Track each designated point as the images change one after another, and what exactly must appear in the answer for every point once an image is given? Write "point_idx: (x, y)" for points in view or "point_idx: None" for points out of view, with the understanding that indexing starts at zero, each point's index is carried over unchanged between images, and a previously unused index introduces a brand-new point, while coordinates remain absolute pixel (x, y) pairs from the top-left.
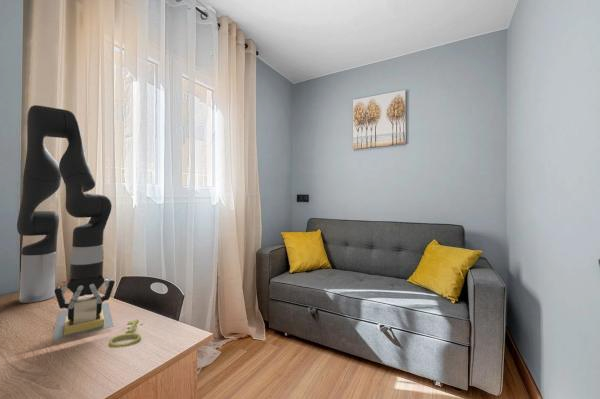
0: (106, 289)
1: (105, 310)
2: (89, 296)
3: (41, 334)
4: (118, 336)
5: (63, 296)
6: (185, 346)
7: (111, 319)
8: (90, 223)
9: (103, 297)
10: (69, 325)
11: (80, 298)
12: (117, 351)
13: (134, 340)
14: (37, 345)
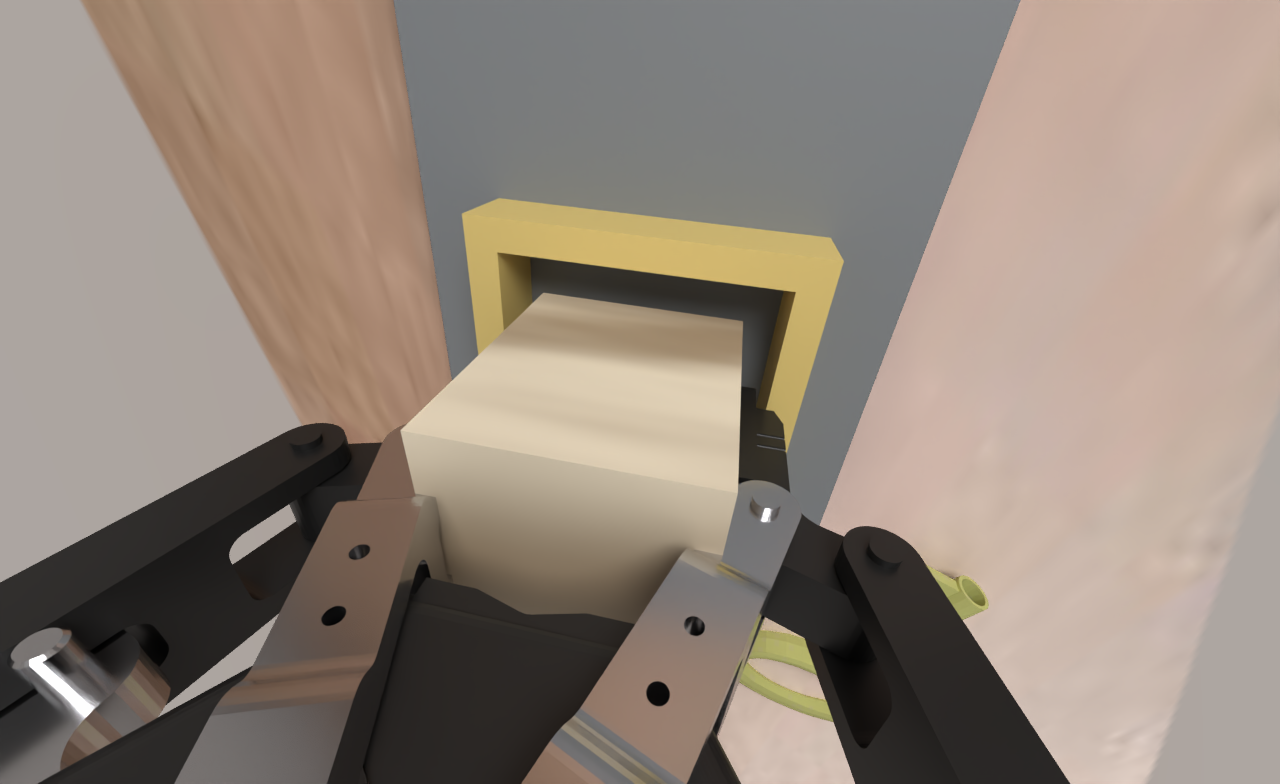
0: (905, 718)
1: (944, 31)
2: (617, 512)
3: (370, 229)
4: (780, 660)
5: (210, 568)
6: None
7: (857, 412)
8: None
9: (800, 629)
10: (535, 281)
11: (490, 516)
12: (737, 707)
13: (827, 716)
14: (406, 409)
